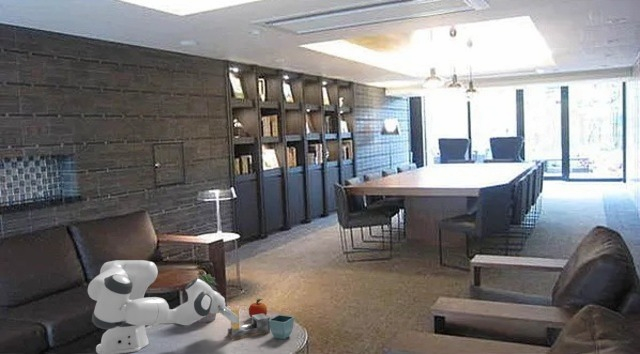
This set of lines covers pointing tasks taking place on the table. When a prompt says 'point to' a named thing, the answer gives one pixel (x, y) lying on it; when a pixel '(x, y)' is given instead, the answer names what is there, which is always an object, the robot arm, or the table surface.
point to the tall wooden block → (236, 325)
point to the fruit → (257, 308)
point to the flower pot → (281, 326)
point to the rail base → (259, 327)
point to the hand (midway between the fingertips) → (236, 320)
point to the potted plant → (212, 284)
